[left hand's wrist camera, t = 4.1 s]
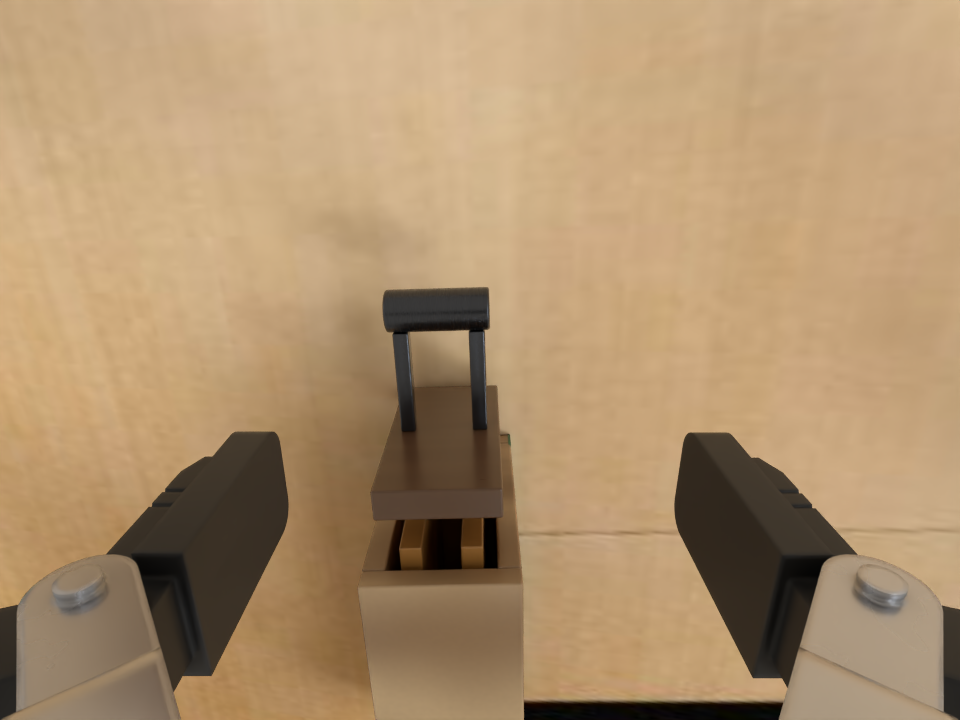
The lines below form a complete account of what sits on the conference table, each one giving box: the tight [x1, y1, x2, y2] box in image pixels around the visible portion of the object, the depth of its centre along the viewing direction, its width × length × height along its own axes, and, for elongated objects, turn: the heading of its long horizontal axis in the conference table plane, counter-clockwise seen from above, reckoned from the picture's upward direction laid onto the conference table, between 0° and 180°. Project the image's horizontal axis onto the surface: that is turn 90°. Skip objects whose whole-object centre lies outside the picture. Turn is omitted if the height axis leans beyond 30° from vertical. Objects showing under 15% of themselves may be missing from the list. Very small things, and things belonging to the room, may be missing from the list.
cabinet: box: [358, 434, 524, 720], centre depth 28 cm, size 20×6×11 cm, turn 2°
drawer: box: [371, 287, 504, 571], centre depth 25 cm, size 24×4×9 cm, turn 2°
